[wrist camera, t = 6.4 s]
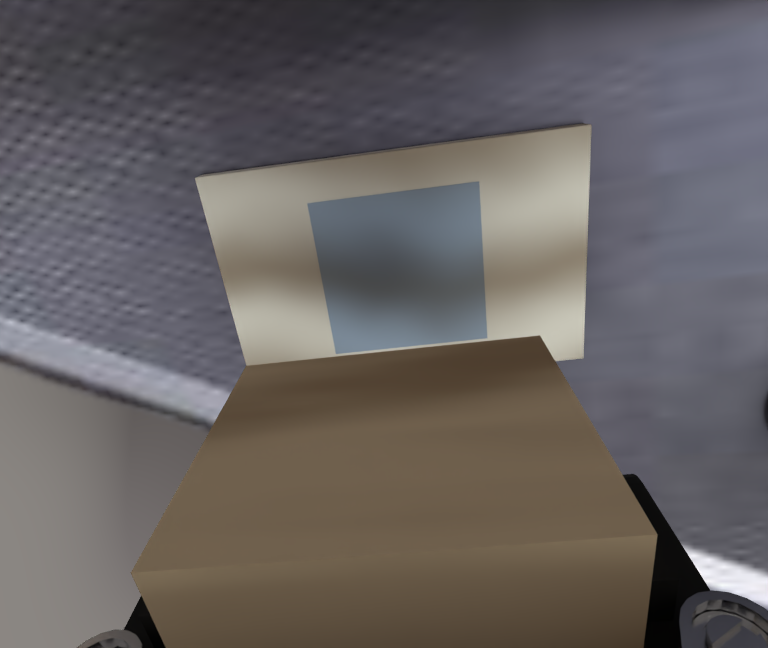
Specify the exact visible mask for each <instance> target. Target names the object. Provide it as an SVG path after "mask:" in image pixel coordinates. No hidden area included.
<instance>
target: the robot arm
mask: <svg viewBox="0 0 768 648" xmlns="http://www.w3.org/2000/svg"><path fill="white" fill-rule="evenodd" d="M623 477H624V479H625V480H626V482H627V484H628V485H629V487H630V489H631V490H632V492H633V494H634V496H635V497H636V499H637V501H638V502H639V504H640V506H641V507H642V509H643V511H644V512H645V514H646V516H647V518H648V519H649V521H650V523H651V524H652V526H653V528H654V529H655V531H656V533H657V543H656V551H655V559H654V567H653V575H652V583H651V591H650V599H649V607H648V615H647V623H646V631H645V639H644V648H768V611H767V610H766V609H765V608H763V607H762V606H760V605H758V604H756V603H754V602H752V601H751V600H749V599H747V598H744V597H741V596H738V595H735V594H732V593H729V592H721V591H710V589H709V588H708V586H707V584H706V583H705V581H704V580H703V578H702V577H701V575H700V573H699V572H698V570H697V569H696V567H695V565H694V564H693V562H692V561H691V559H690V558H689V556H688V554H687V553H686V551H685V550H684V548H683V546H682V545H681V543H680V542H679V540H678V538H677V537H676V535H675V534H674V532H673V531H672V529H671V527H670V526H669V524H668V523H667V521H666V519H665V518H664V516H663V515H662V513H661V511H660V510H659V508H658V507H657V505H656V504H655V502H654V500H653V499H652V497H651V496H650V494H649V492H648V491H647V489H646V488H645V486H644V485H643V483H642V482H641V480H640V479H639V478H638V476H636V475H634V474H627V475H623ZM77 648H166V647H165V645H164V643H163V641H162V638H161V636H160V634H159V632H158V630H157V628H156V626H155V624H154V621H153V619H152V617H151V615H150V613H149V611H148V609H147V606H146V604H145V602H144V600H143V598H142V596H141V597H140V599H139V601H138V603H137V605H136V607H135V609H134V611H133V613H132V615H131V617H130V619H129V621H128V623H127V625H126V627H125V629H124V630H111V631H107V632H104V633H100V634H98V635H96V636H94V637H92V638H90V639H88V640H86V641H85V642H84V643H82V644H81V645H80V646H78V647H77Z"/></svg>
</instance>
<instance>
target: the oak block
mask: <svg viewBox="0 0 768 648" xmlns="http://www.w3.org/2000/svg"><path fill="white" fill-rule="evenodd" d="M656 543H657V533H656V531H655V529H654V528H653V526H652V524H651V523H650V521H649V519H648V518H647V516H646V514H645V512H644V511H643V509H642V507H641V506H640V504H639V502H638V501H637V499H636V497H635V496H634V494H633V492H632V490H631V489H630V487H629V485H628V484H627V482H626V480H625V479H624V477H623V475H622V473H621V472H620V470H619V468H618V467H617V465H616V463H615V462H614V460H613V458H612V457H611V455H610V453H609V451H608V450H607V448H606V446H605V445H604V443H603V441H602V440H601V438H600V436H599V435H598V433H597V431H596V429H595V428H594V426H593V424H592V423H591V421H590V419H589V418H588V416H587V414H586V413H585V411H584V409H583V407H582V406H581V404H580V402H579V401H578V399H577V397H576V396H575V394H574V392H573V391H572V389H571V387H570V385H569V384H568V382H567V380H566V379H565V377H564V375H563V374H562V372H561V370H560V368H559V367H558V365H557V363H556V362H555V360H554V358H553V357H552V355H551V353H550V352H549V350H548V348H547V346H546V345H545V343H544V341H543V340H542V338H541V336H540V335H539V336H530V337H520V338H510V339H501V340H491V341H481V342H471V343H462V344H452V345H442V346H433V347H423V348H413V349H404V350H394V351H384V352H375V353H365V354H355V355H345V356H336V357H326V358H316V359H307V360H297V361H287V362H278V363H268V364H258V365H249V366H246V367H245V369H244V371H243V373H242V374H241V376H240V378H239V380H238V382H237V383H236V385H235V387H234V389H233V391H232V392H231V394H230V396H229V398H228V400H227V401H226V403H225V405H224V407H223V408H222V410H221V412H220V414H219V416H218V417H217V419H216V421H215V423H214V425H213V426H212V428H211V430H210V432H209V434H208V435H207V437H206V439H205V441H204V443H203V444H202V446H201V448H200V450H199V452H198V453H197V455H196V457H195V459H194V460H193V462H192V464H191V466H190V468H189V469H188V471H187V473H186V475H185V477H184V478H183V480H182V482H181V484H180V486H179V487H178V490H177V491H176V493H175V495H174V497H173V498H172V500H171V502H170V504H169V505H168V507H167V509H166V511H165V513H164V514H163V516H162V518H161V520H160V521H159V523H158V525H157V527H156V529H155V530H154V532H153V534H152V536H151V538H150V540H149V541H148V543H147V545H146V547H145V549H144V550H143V552H142V554H141V556H140V557H139V559H138V561H137V563H136V565H135V566H134V568H133V570H132V572H131V574H132V577H133V578H134V581H135V583H136V585H137V587H138V589H139V591H140V593H141V596H142V598H143V600H144V602H145V604H146V606H147V609H148V611H149V613H150V615H151V617H152V619H153V621H154V624H155V626H156V628H157V630H158V632H159V634H160V636H161V638H162V641H163V643H164V645H165V647H166V648H644V639H645V631H646V623H647V615H648V607H649V599H650V591H651V583H652V575H653V567H654V559H655V551H656Z"/></svg>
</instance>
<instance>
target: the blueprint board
mask: <svg viewBox="0 0 768 648" xmlns="http://www.w3.org/2000/svg"><path fill="white" fill-rule="evenodd" d="M590 151H591V125H590V124H584V123H582V124H575V125H568V126H560V127H553V128H545V129H538V130H530V131H523V132H516V133H508V134H501V135H493V136H486V137H479V138H471V139H464V140H456V141H449V142H441V143H434V144H427V145H419V146H412V147H404V148H397V149H390V150H382V151H375V152H367V153H360V154H352V155H345V156H338V157H330V158H323V159H315V160H308V161H301V162H293V163H286V164H278V165H271V166H263V167H256V168H249V169H241V170H234V171H226V172H219V173H212V174H204V175H201V176H198V177H196V178H195V180H196V184H197V188H198V191H199V195H200V198H201V202H202V206H203V209H204V213H205V217H206V220H207V224H208V228H209V231H210V235H211V238H212V242H213V246H214V249H215V253H216V257H217V260H218V264H219V268H220V271H221V275H222V278H223V282H224V286H225V289H226V293H227V297H228V300H229V304H230V307H231V311H232V315H233V318H234V322H235V326H236V329H237V333H238V337H239V340H240V344H241V347H242V351H243V355H244V358H245V362H246V366H249V365H258V364H268V363H278V362H287V361H297V360H307V359H316V358H326V357H336V356H345V355H355V354H365V353H375V352H384V351H394V350H404V349H413V348H423V347H433V346H442V345H452V344H462V343H471V342H481V341H491V340H501V339H510V338H520V337H530V336H539V335H540V336H541V338H542V340H543V341H544V343H545V345H546V346H547V348H548V350H549V352H550V353H551V355H552V357H553V358H554V360H555V361H561V360H571V359H581V358H583V352H584V323H585V295H586V266H587V237H588V208H589V180H590Z"/></svg>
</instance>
